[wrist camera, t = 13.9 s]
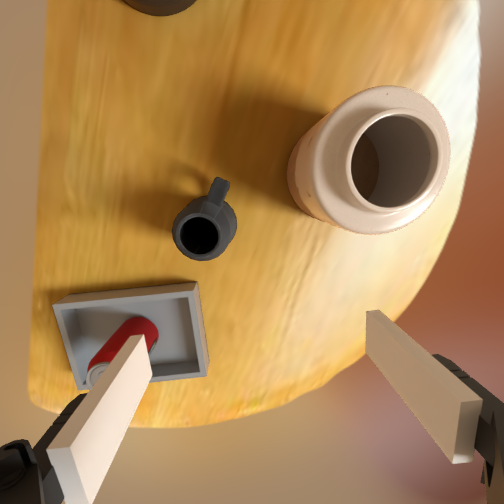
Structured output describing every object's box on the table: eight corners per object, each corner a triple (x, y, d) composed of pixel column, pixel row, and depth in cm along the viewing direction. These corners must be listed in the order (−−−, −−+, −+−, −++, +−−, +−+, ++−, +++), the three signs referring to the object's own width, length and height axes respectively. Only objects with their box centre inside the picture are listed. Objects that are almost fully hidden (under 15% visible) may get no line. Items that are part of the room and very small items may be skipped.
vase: (374, 220, 43) (456, 239, 27) (284, 221, 42) (312, 241, 26) (385, 121, 39) (487, 73, 23) (287, 120, 39) (321, 71, 22)
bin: (68, 294, 43) (52, 304, 40) (197, 281, 44) (193, 290, 40) (91, 373, 47) (78, 390, 44) (209, 361, 48) (206, 376, 44)
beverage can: (132, 353, 46) (96, 409, 34) (114, 322, 44) (69, 370, 33) (167, 340, 46) (142, 392, 34) (149, 308, 44) (117, 351, 32)
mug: (224, 258, 43) (220, 282, 32) (173, 238, 42) (150, 255, 31) (252, 192, 41) (257, 193, 30) (199, 168, 40) (183, 161, 29)
